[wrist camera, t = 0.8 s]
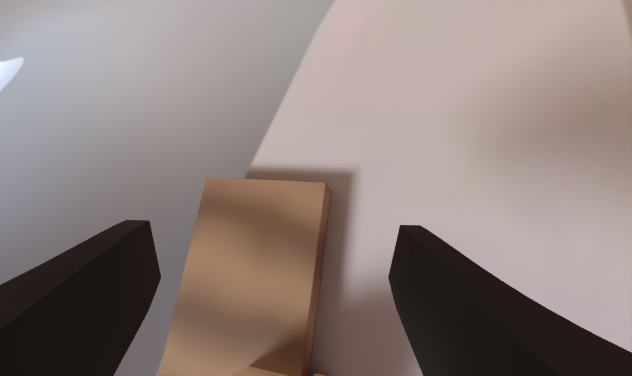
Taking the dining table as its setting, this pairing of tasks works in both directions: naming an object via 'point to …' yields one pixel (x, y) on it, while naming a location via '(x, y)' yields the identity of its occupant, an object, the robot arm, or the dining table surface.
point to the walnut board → (250, 279)
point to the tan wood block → (260, 372)
